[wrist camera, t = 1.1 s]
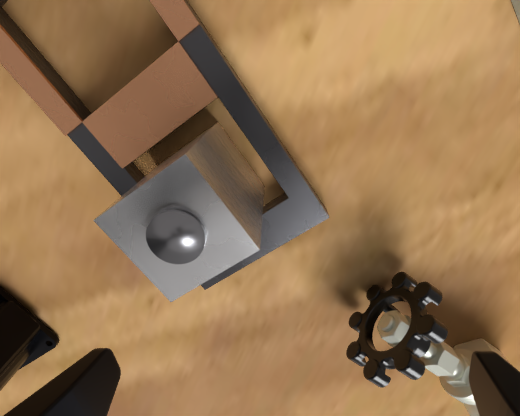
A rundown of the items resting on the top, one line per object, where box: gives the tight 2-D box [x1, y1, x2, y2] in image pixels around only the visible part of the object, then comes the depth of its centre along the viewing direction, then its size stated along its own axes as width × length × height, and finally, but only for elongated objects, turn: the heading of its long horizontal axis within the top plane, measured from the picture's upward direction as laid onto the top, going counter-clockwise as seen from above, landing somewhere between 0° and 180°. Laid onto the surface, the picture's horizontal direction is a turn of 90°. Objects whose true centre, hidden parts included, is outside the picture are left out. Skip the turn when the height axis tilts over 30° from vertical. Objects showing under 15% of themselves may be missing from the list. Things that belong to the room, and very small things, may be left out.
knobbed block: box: [94, 122, 265, 302], centre depth 16 cm, size 4×4×8 cm
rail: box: [0, 0, 329, 290], centre depth 16 cm, size 30×9×1 cm, turn 35°
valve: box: [346, 272, 509, 416], centre depth 21 cm, size 7×7×12 cm
